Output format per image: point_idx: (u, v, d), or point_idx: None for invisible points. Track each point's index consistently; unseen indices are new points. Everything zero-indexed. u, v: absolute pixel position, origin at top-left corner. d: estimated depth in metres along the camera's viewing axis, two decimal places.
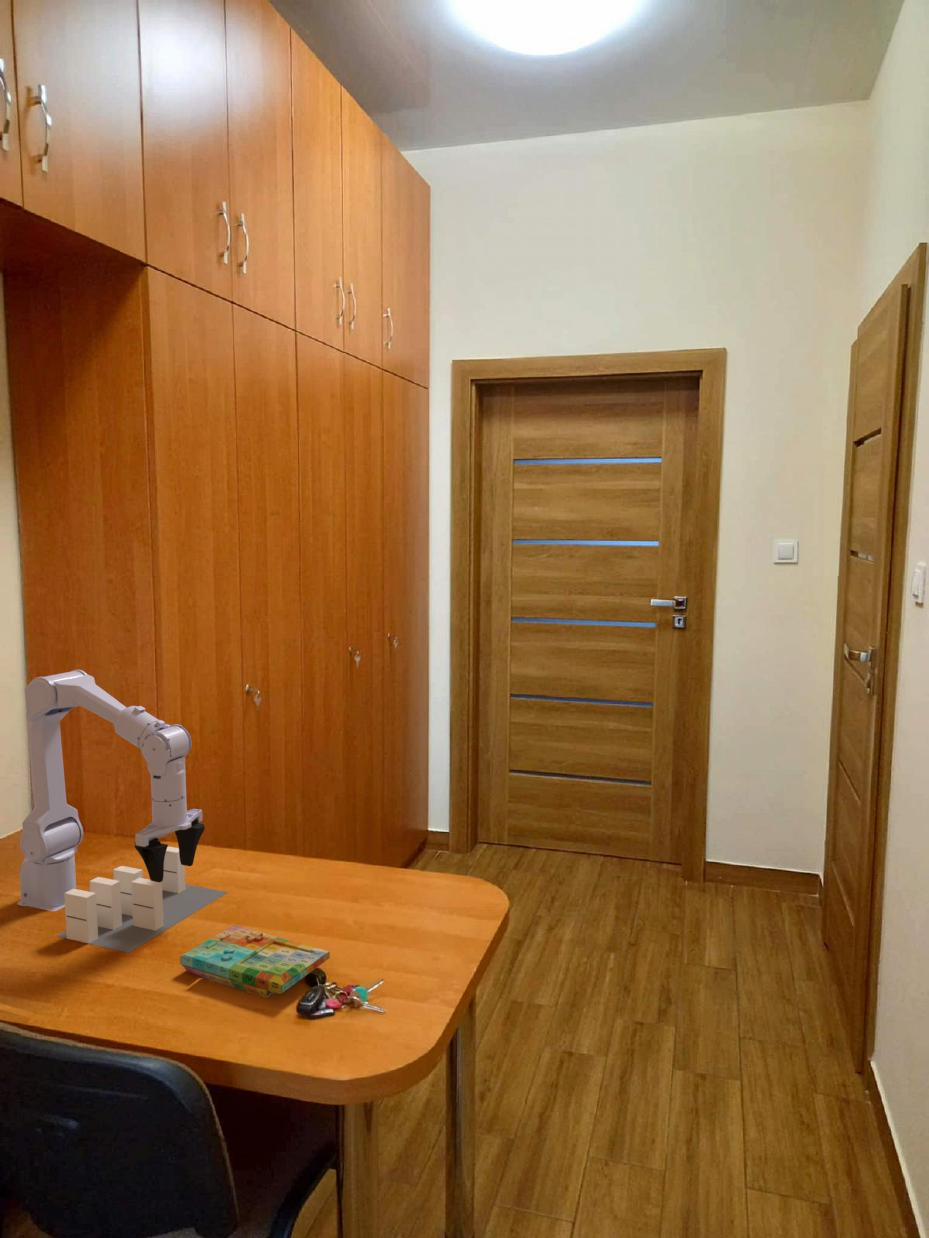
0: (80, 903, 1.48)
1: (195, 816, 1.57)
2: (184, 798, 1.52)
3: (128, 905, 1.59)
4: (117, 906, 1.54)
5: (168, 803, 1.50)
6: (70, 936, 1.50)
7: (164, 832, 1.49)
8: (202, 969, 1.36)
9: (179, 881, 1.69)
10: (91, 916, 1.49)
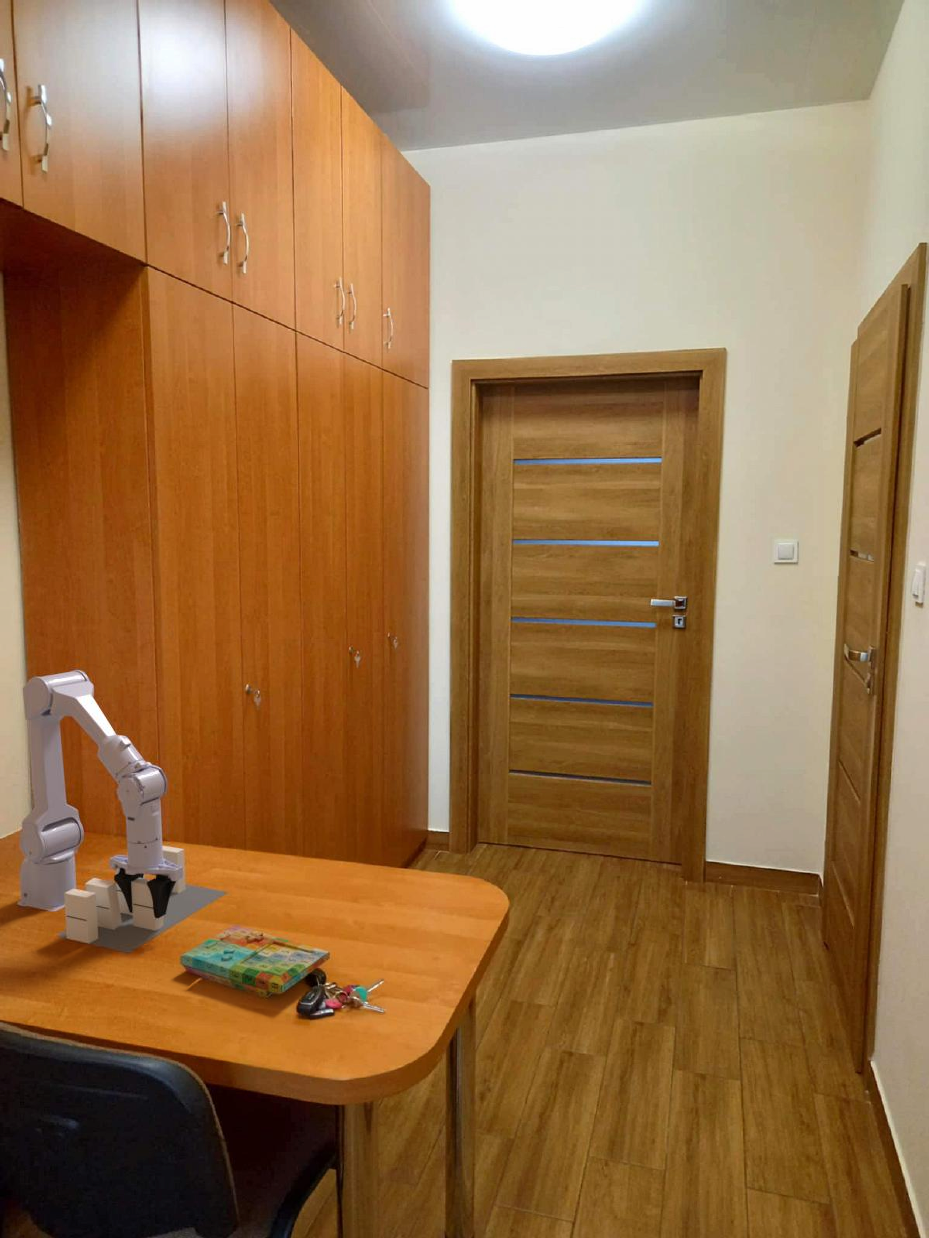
0: (80, 903, 1.48)
1: (161, 871, 1.50)
2: (136, 844, 1.50)
3: None
4: (115, 906, 1.54)
5: (127, 841, 1.52)
6: (70, 936, 1.50)
7: (121, 866, 1.53)
8: (202, 969, 1.36)
9: (179, 881, 1.69)
10: (91, 916, 1.49)
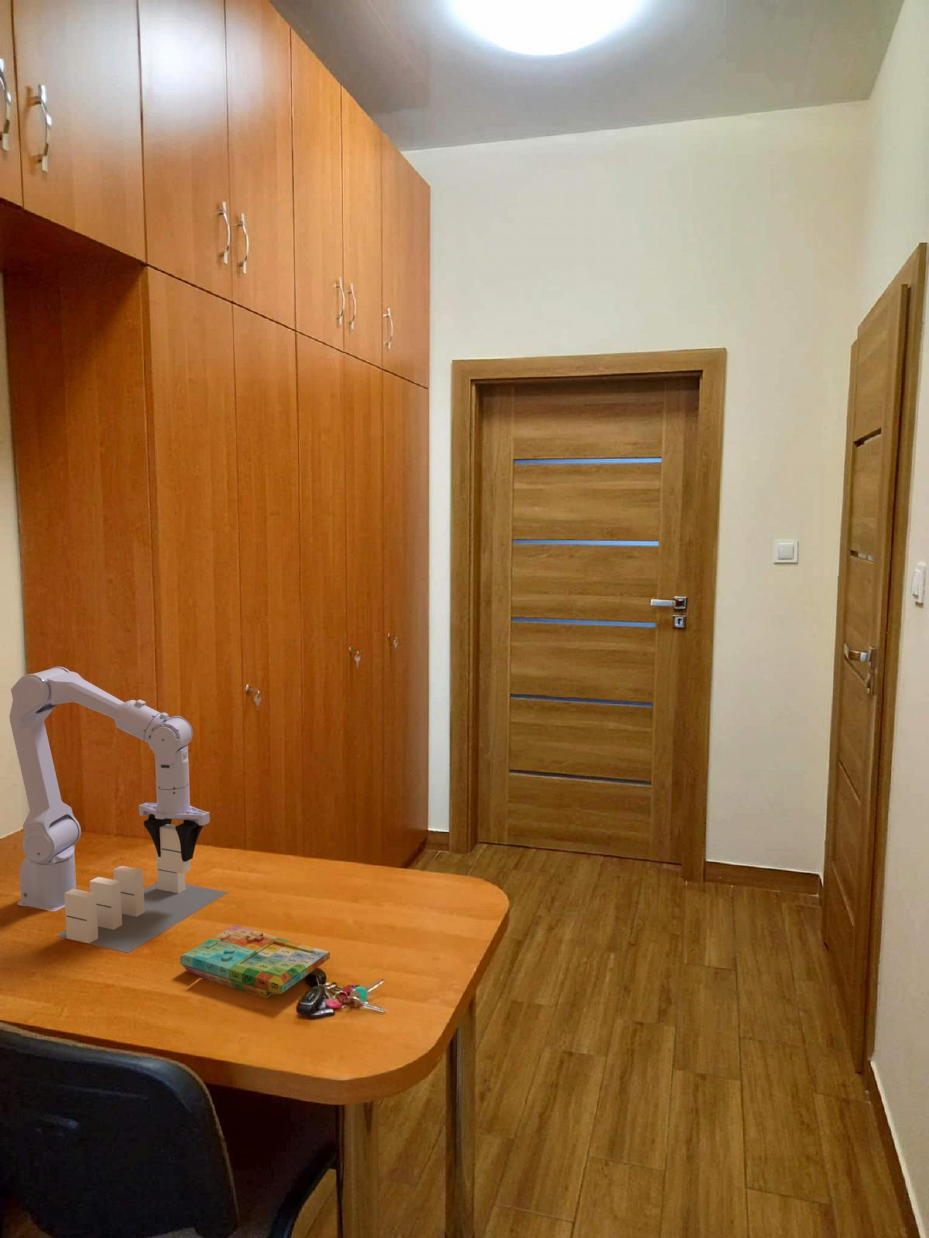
0: (80, 903, 1.48)
1: (189, 816, 1.58)
2: (165, 790, 1.58)
3: (128, 905, 1.59)
4: (117, 906, 1.54)
5: (156, 788, 1.60)
6: (70, 936, 1.50)
7: (150, 812, 1.61)
8: (202, 969, 1.36)
9: (179, 881, 1.69)
10: (91, 916, 1.49)
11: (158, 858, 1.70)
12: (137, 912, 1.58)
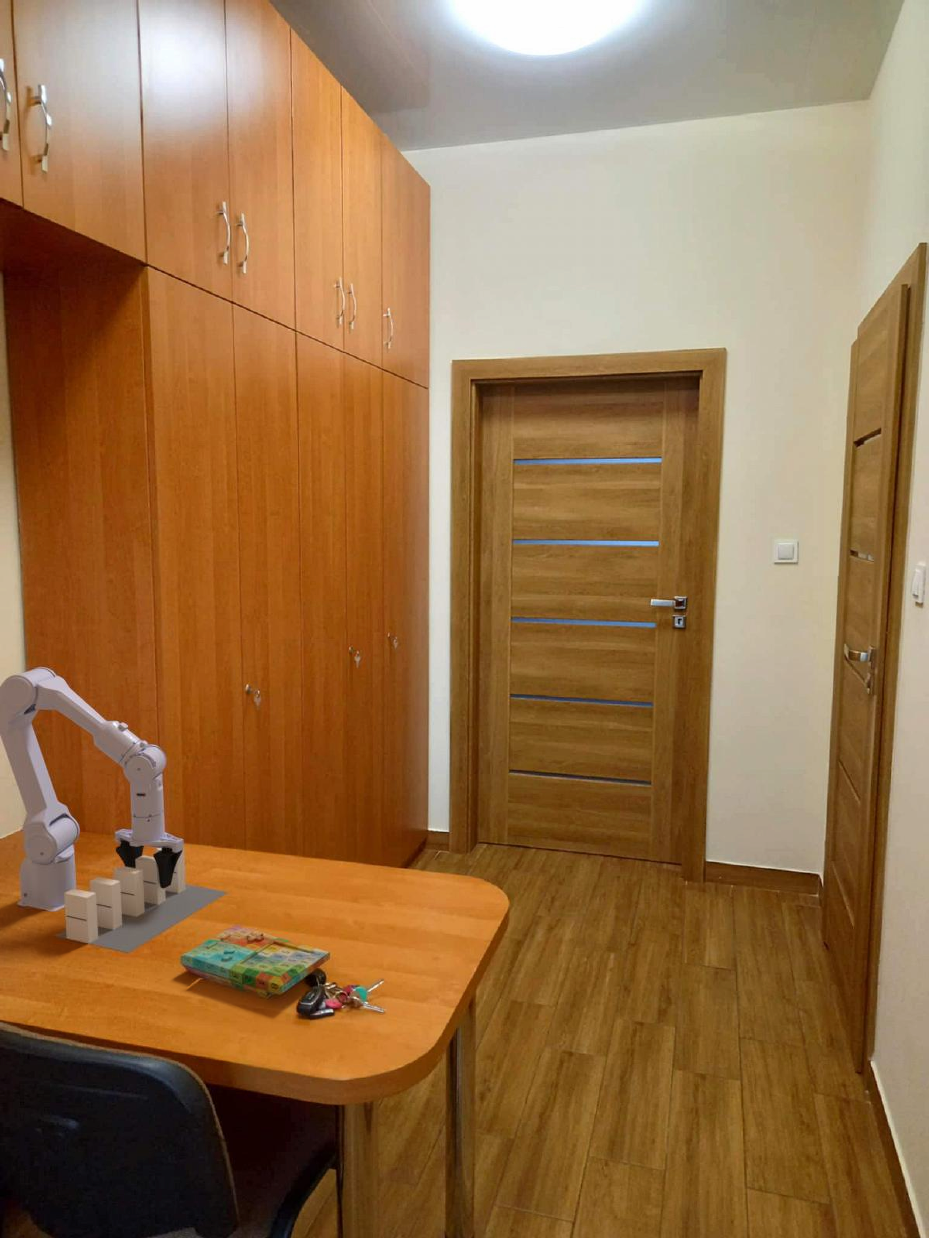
0: (80, 903, 1.48)
1: (163, 843, 1.61)
2: (140, 818, 1.61)
3: (128, 905, 1.59)
4: (117, 906, 1.54)
5: (131, 815, 1.63)
6: (70, 936, 1.50)
7: (126, 839, 1.64)
8: (202, 969, 1.36)
9: (179, 881, 1.69)
10: (91, 916, 1.49)
11: None
12: (137, 912, 1.58)
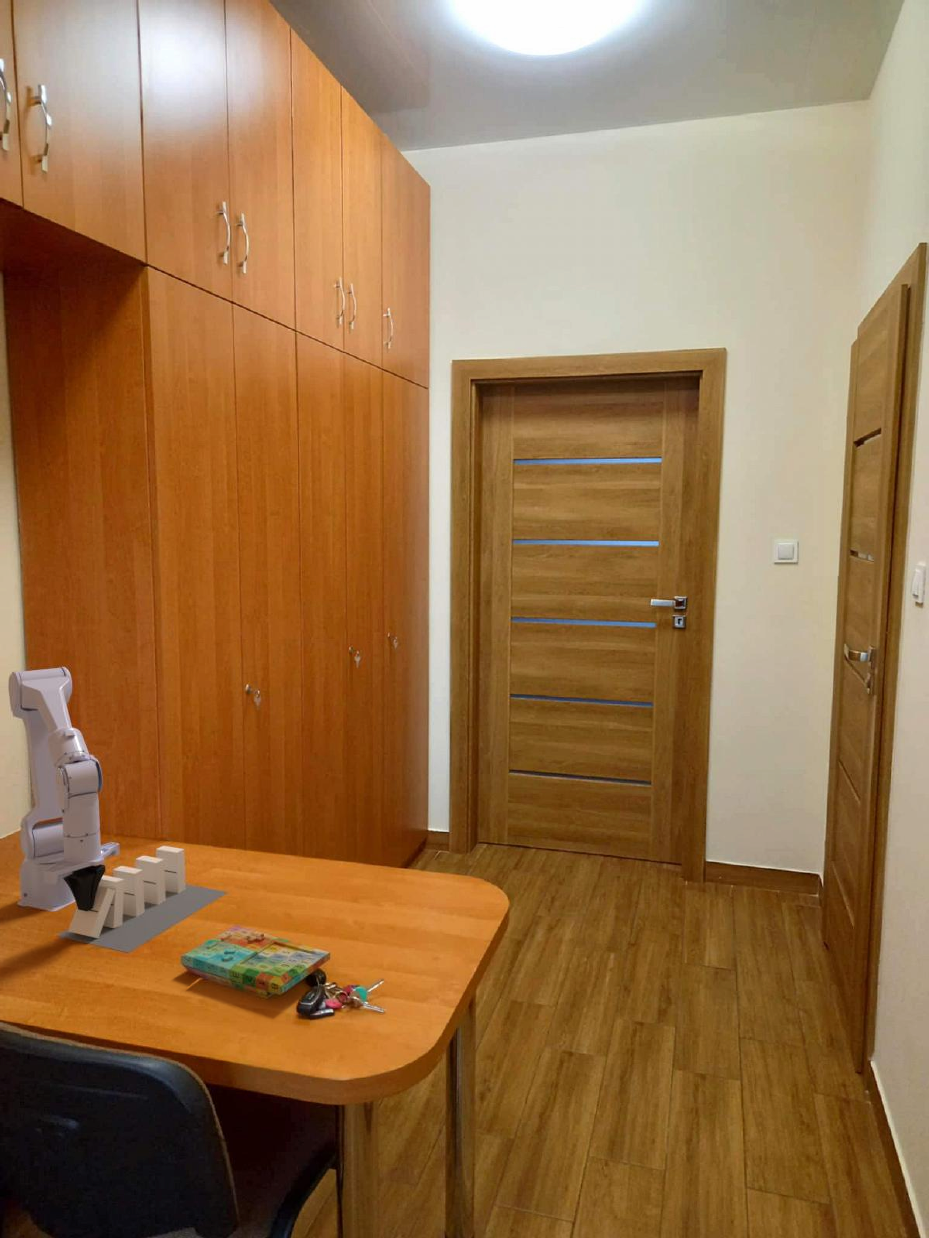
0: (98, 894, 1.52)
1: (111, 850, 1.53)
2: (97, 833, 1.49)
3: (128, 905, 1.59)
4: (119, 904, 1.54)
5: (79, 839, 1.46)
6: (72, 929, 1.50)
7: (74, 868, 1.46)
8: (203, 969, 1.36)
9: (179, 881, 1.69)
10: (103, 910, 1.51)
11: None
12: (137, 912, 1.58)
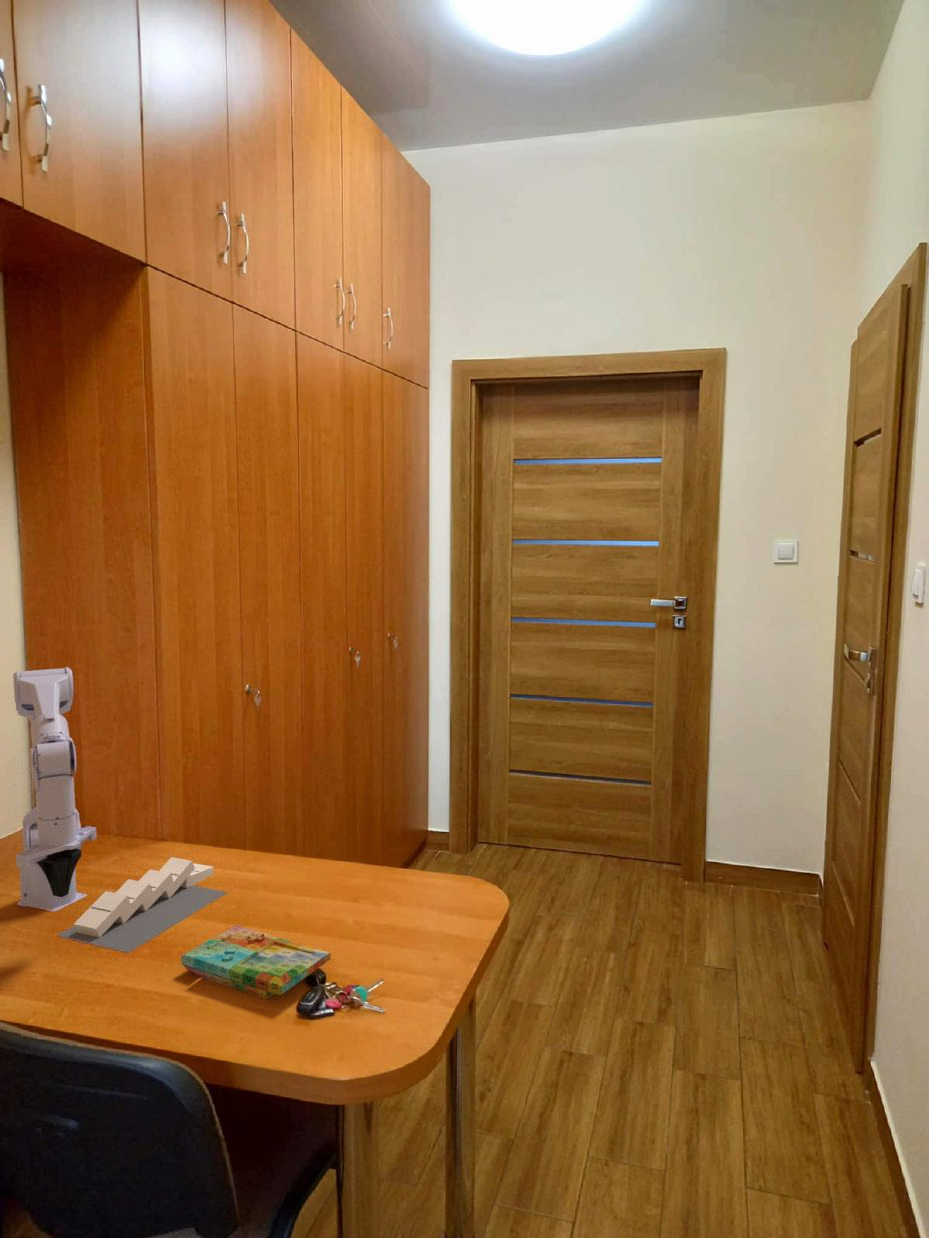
0: (116, 899, 1.56)
1: (87, 834, 1.48)
2: (72, 816, 1.44)
3: None
4: (136, 904, 1.58)
5: (53, 822, 1.41)
6: (79, 922, 1.51)
7: (48, 852, 1.41)
8: (203, 969, 1.36)
9: (194, 876, 1.72)
10: (115, 913, 1.53)
11: None
12: (145, 900, 1.60)
